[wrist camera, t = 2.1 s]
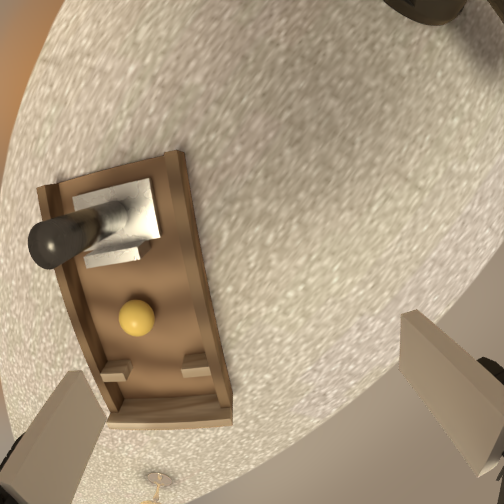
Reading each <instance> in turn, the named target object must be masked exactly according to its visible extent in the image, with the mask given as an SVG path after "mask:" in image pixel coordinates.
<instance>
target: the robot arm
mask: <svg viewBox="0 0 504 504" xmlns="http://www.w3.org/2000/svg"><path fill="white" fill-rule="evenodd" d="M384 1H385V2H386V3H387V4H389V5H390V6H391V7H392V8H394V9H395V10H397V11H398V12H400V13H401V14H403V15H404V16H406V17H408V18H410V19H412V20H414V21H417V22H420V23H423V24H427V25H434V26H438V25H444V24H446V23H448V22H450V21H452V20H453V19H455V18H457V17H458V16H459V15H460V14H461V12H462V10H463V8H464V5H465V3H466V2H467V0H384ZM487 1H488V2H489V3H490V5H491V6H492V8H493V9H494V10H495V12H496V13H497V15H498V16H499V17H500V19H501V20H502V22H503V23H504V0H487ZM399 371H400V372H401V373H402V374H403V376H404V377H405V378H406V380H407V381H408V382H409V384H410V385H411V386H412V388H413V389H414V390H415V392H416V393H417V394H418V395H419V397H420V398H421V400H422V401H423V402H424V404H425V405H426V406H427V408H428V409H429V410H430V412H431V413H432V414H433V416H434V417H435V418H436V420H437V421H438V423H439V424H440V425H441V427H442V428H443V430H444V431H445V432H446V434H447V435H448V436H449V438H450V439H451V441H452V442H453V443H454V445H455V446H456V448H457V449H458V450H459V452H460V453H461V455H462V456H463V457H464V459H465V461H466V462H467V463H468V465H469V466H470V468H471V469H472V471H473V472H474V474H475V475H476V477H477V478H478V477H479V476H481V475H483V474H485V473H486V472H488V471H490V470H491V469H493V468H494V467H496V465H497V463H498V462H499V460H500V458H501V456H503V457H504V369H503V368H502V367H501V366H500V365H499V364H498V363H497V362H495V361H493V360H490V359H488V358H485V357H482V358H480V359H478V360H475V359H474V358H473V357H472V356H471V355H470V354H469V353H467V352H466V351H465V350H464V349H463V348H462V347H461V346H460V345H458V344H457V343H456V342H455V341H454V340H453V339H451V338H450V337H449V336H448V335H447V334H446V333H444V332H443V331H442V330H441V329H440V328H438V327H437V326H436V325H435V324H434V323H433V322H432V321H430V320H429V319H428V318H427V317H426V316H424V315H423V314H422V313H421V312H420V311H418V310H417V309H416V310H413V311H410V312H407V313H403V314H401V332H400V358H399ZM106 420H107V417H106V415H105V413H104V412H103V410H102V408H101V406H100V404H99V403H98V401H97V399H96V397H95V395H94V393H93V391H92V389H91V387H90V385H89V383H88V381H87V379H86V377H85V375H84V373H83V371H82V370H78V371H68V372H67V374H66V375H65V376H64V378H63V379H62V380H61V382H60V383H59V385H58V386H57V387H56V389H55V390H54V392H53V393H52V394H51V396H50V397H49V399H48V400H47V401H46V403H45V404H44V406H43V407H42V409H41V410H40V411H39V413H38V414H37V416H36V417H35V419H34V420H33V422H32V423H31V425H30V426H29V428H28V429H27V431H26V432H25V433H23V434H22V435H21V436H20V437H19V438H18V439H17V440H16V441H15V443H14V444H13V446H12V448H11V450H10V451H9V452H8V454H7V457H5V458H4V460H3V462H2V463H1V465H0V504H71V503H72V500H73V498H74V495H75V493H76V490H77V488H78V485H79V483H80V480H81V478H82V475H83V473H84V471H85V468H86V466H87V463H88V461H89V459H90V456H91V454H92V452H93V449H94V447H95V445H96V442H97V440H98V438H99V436H100V433H101V431H102V429H103V427H104V424H105V422H106ZM502 475H503V477H502ZM501 477H502V483H501V488H500V493H499V498H498V503H497V504H504V466H503V468H502V470H501V472H500V473H499V475H498V477H497V479H496V480H497V481H499V480H500V478H501Z"/></svg>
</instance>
